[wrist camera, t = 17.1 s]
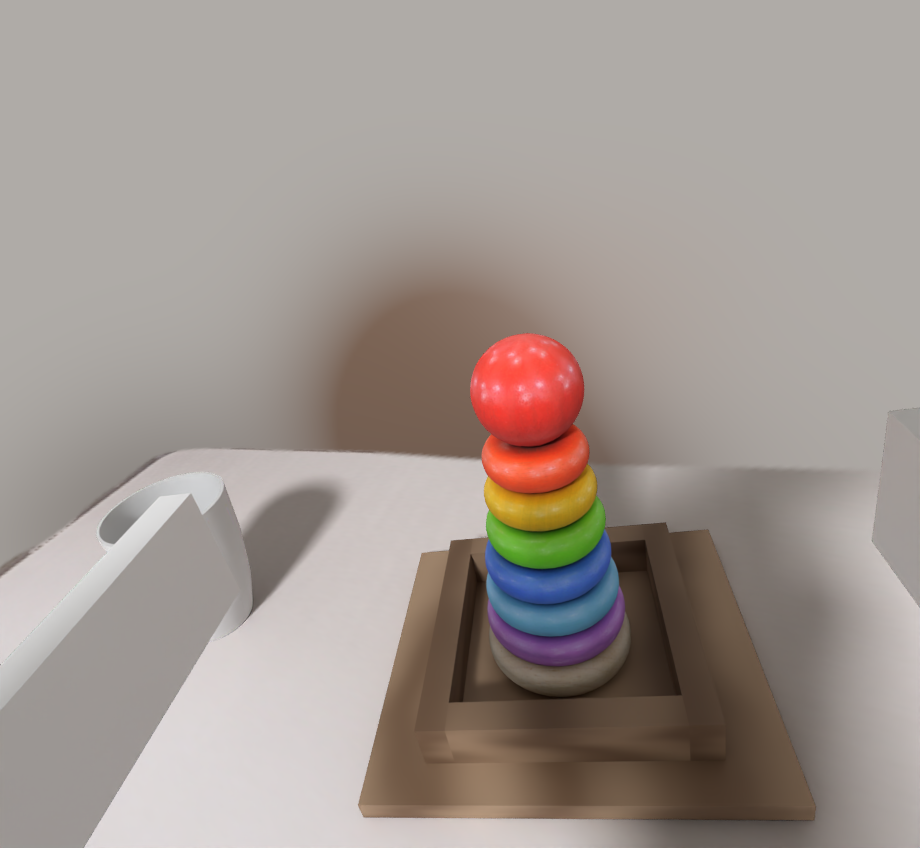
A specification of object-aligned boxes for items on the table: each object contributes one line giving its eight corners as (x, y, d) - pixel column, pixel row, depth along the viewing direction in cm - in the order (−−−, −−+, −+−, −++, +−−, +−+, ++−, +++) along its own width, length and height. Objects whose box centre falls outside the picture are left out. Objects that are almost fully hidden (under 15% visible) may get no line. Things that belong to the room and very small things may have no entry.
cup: (233, 566, 49) (183, 463, 45) (295, 595, 44) (247, 484, 40) (141, 636, 44) (74, 528, 39) (201, 678, 39) (133, 560, 34)
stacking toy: (508, 722, 31) (427, 396, 22) (482, 611, 38) (413, 332, 29) (656, 683, 31) (631, 346, 23) (602, 580, 38) (569, 295, 30)
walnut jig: (708, 541, 41) (708, 499, 39) (814, 820, 25) (820, 769, 24) (424, 563, 45) (414, 526, 43) (363, 817, 29) (343, 773, 27)
